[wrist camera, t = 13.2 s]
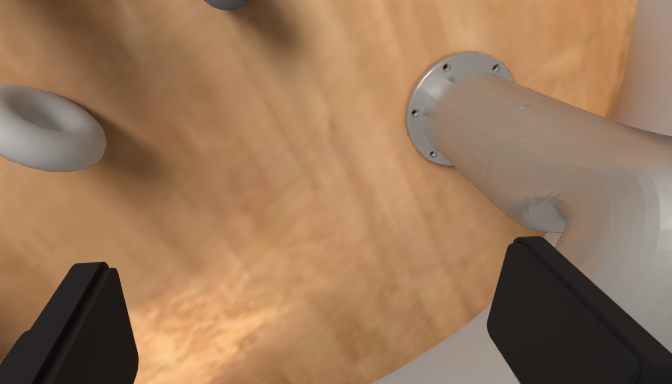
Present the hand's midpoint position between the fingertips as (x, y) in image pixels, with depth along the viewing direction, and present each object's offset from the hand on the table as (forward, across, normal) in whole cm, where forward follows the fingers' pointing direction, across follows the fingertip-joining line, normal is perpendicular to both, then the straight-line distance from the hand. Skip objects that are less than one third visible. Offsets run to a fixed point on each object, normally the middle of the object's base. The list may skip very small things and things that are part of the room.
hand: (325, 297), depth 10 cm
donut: (+34, +20, +5) cm, 40 cm away
